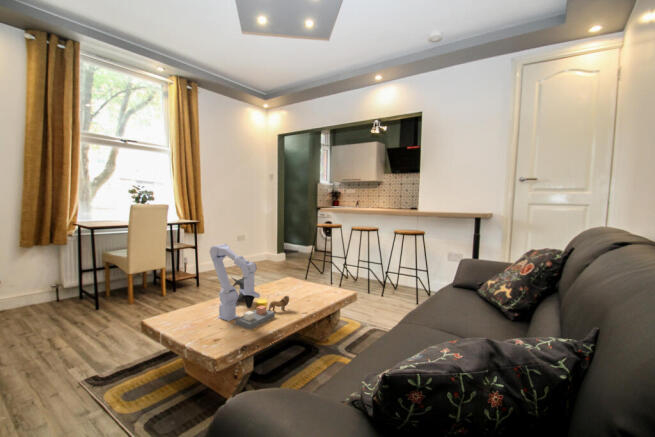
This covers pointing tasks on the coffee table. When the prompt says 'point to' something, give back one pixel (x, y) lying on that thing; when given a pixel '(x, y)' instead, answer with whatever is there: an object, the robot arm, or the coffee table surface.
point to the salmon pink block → (261, 310)
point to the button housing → (254, 320)
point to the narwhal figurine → (240, 283)
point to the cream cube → (249, 316)
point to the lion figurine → (279, 303)
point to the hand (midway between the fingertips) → (249, 307)
